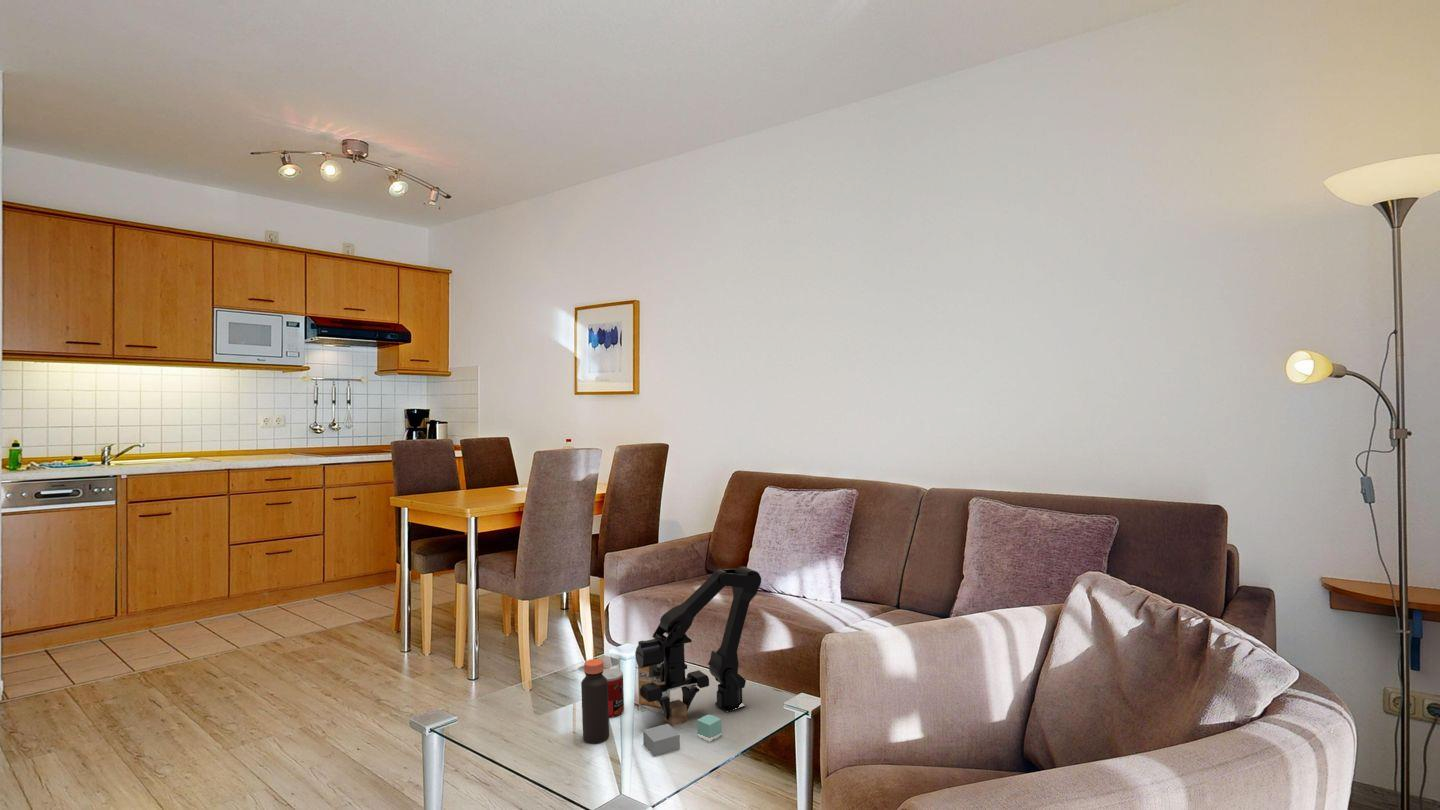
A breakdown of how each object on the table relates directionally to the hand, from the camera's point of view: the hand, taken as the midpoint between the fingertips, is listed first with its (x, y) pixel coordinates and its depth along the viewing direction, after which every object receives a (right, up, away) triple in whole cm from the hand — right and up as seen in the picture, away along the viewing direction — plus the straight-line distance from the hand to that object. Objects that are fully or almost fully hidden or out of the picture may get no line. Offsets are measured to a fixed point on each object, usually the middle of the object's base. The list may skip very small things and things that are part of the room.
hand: (675, 716), depth 203 cm
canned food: (-19, -2, +6) cm, 20 cm away
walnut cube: (0, -1, 0) cm, 1 cm away
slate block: (-3, -2, -15) cm, 15 cm away
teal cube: (+9, -1, -9) cm, 13 cm away
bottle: (-20, -2, -9) cm, 22 cm away
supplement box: (-7, -1, +11) cm, 13 cm away
